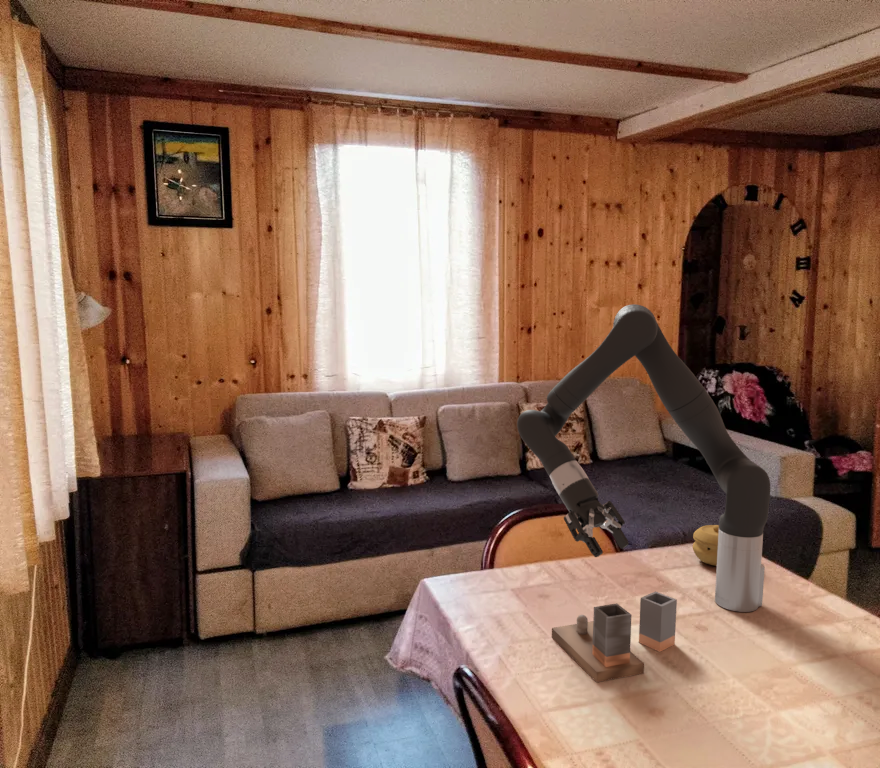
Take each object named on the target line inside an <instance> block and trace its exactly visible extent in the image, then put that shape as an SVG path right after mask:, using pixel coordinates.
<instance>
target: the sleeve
mask: <svg viewBox="0 0 880 768" xmlns="http://www.w3.org/2000/svg"><path fill="white" fill-rule="evenodd" d="M639 601H640V603H639V604H640V605H639V625H638V626H639V631H638V643H639V644H642V645H644V646H646V647H648V648H650V649H652V650H655V651H656V652H658V653H661V652H663V651H664V650H666V649H669V648H670V647H672V646H674V645H675V643H676V642H675V641H676V628H677V627H676V625H677V623H676V622H677V604H678V603H677V602H678V601H677V599H676V598H673V597H670V596H668V595H666V594H663V593H661V592H658V591H656V590H655V591H654V592H650V593H649V594H646V595H644V596H642V597H640V600H639Z"/></svg>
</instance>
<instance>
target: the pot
mask: <svg viewBox="0 0 880 768" xmlns="http://www.w3.org/2000/svg"><path fill="white" fill-rule="evenodd" d="M718 532H719V524H710V525H709V524H707V525H703V526H700V527H699V528H697V529H696V530H695V531H694V532H693V535H692V537H693V540H694V542H693V543H692V550H693V552H694V554H695V556H696V558H698V559H699V561H701V562H703V563H704V564H707V565H711V566H715V567H717V551H718Z"/></svg>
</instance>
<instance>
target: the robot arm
mask: <svg viewBox="0 0 880 768" xmlns="http://www.w3.org/2000/svg"><path fill="white" fill-rule="evenodd" d="M634 357H635V358H637V361H639V363H640V364H641V365H642V366H643V368H644V369H645V372H646V373H647V375H648V377H649V379H650V382H651V384H652V386H653V387H654V389H655V392H656V394H657V395H658V397H659V399H660V401H661V403H662V405H663V406H664V407H665V409H666V410H667V412H668V414H669V415H670V416H671V417H672V419H673V420H674V422H675V423H676V424H677V426H678V427H679V428H680V430H681V431H682V432H683V434H684V435H685V436H686V437H687V438H688V440H689V441H690V442H691V443H692V444H693V445H694V447H696V449H697V450H698V451H699V452H700V454H701V456H702V457H703V458H704V460H705V461H706V464H707V465H708V467H709V468H710V470H711V472H712V474H713V476H714V478H715V480H716V481H717V484H718V485H719V488H721V490H722V491H723V492H724V493H725V495H726V496H725V505H724V506H725V507H724V512H723V513H722V514H721V515H720V516H719V520H718V525H719V532H718V551H717V566H716V572H715V573H716V575H715V589H714V591H715V592H714V602H715V603H716V605H718V606H720V607H721V608H723V609H727V610H729V611H734V612H740V613H749V612H754V611H757V610H758V608H759V607H762V606H763V597H764V586H765V585H764V584H765V583H764V582H765V581H764V580H765V565H764V564H763V563H762V558H763V557H762V556H763V543H764V541H763V540H764V539H763V538H764V528H765V526H766V524H767V522H768V518H769V508H770V500H771V499H770V498H771V480H770V475H768V473H767V471H766V470H765V469H764V468H763V467H761V466H760V465H758V464H757V463H755V462H754V461H752V460H751V459H750V458H749V457H748V456H747V455H746V454H745V453H744V452H743V451H742V450H741V448H740V447H739V446H738V444H736V443H735V441H734V439H733V438H731V436H730V434H729V433H728V431H727V428H726V426H725V423H724V420H723V418H722V416H721V413H720V411H719V408H718V407H717V405H716V404H715V402H714V400H713V399H712V397H711V396H710V394H709V393H708V391H707V390H706V389H705V387H704V386H703V384H702V383H701V382H700V380H699V379H698V378H697V377H696V376H695V374H694V373H693V372H692V370H691V369H690V368H689V367H688V366H687V365H686V363H685V362H684V361H683V360H682V359H681V358H680V357H679V356H678V354H677V353H676V352H675V351H674V350H673V348H672V346H671V345H670V343H669V342H668V340H667V338H666V337H665V335H664V333H663V331H662V329H661V327H660V326H659V323H658V322H657V319H656V317H655V315H654V313H653V312H652V311H651V310H650V309H649V308H648V307H646V306H644V305H641V304H635V303H633V304H628V305H625V306H623V307H622V308H621V309H619V310H618V312H617V313H616V315H615V316H614V319H613V324H612V329H611V330H610V332H609V333H608V334H607V336H606V337H605V338H604V339H603V341H602V342H601V343H600V345H598V347H597V348H596V349H595V350H594V351H593V352H592V353H591V354H590V355H589V356H588V357H586V358H585V359H584V360H583V361H581V362H579V364H578V365H575V367H573V368H572V369H571V370H570V371H569V372H567V374H566V375H565V376H564V377H562V378H561V379H560V381H559V382H557V384H556V385H554V387H553V388H552V389H551V390H550V391H549V392H548V393H547V396H546V402H547V403H546V405H544V407H543V408H542V409H541V410H536V409H527V410H524V411H523V412H521V413H520V414H519V416H518V418H517V422H516V428H517V432H518V434H519V437H520V438H521V440H522V441H523V442H524V443H525V445H526V446H527V447H528V449H529V450H530V451H531V452H532V453H533V455H535V457H537V459H539V461H540V463H541V464H542V466H543V468H544V469H545V472H546V474H547V475H548V476H549V478H550V481H551V483H552V486H553V487H554V489H555V491H556V493H557V494H558V496H559V497H560V499H561V501H562V502H563V504H564V506H565V508H566V510H567V511H568V513H567V514H566V515H565V516H563V520H564V522H565V524H566V526H567V528H568V530H569V531H570V533H571V536H572V538H573V539H574V541H575V542H577V543H578V542H579V541H580V542H583V543H585V545H586V547H587V548H588V550H589V552H590V553H591V555H592V556H593V557H594V558H599V557H600V556H601V555H602V554H603V552H604V551H603V550H602V547H601V546H600V544H599V543H598V541H597V539H596V538H595V536H593V535H594V532H593V531H594V530H593V529H594V528H599V527H600V528H601V529H604V530H607V531H608V532H610V533H611V535H612V537H613V539H614V540H615V542H616V544H617V546H618V547H619V548H620V549H622V550H623V549H625V548H626V547H627V546H629V544H630V543H629V539H628V538H627V536H626V535H625V534H624V532H623V530H622V527H623V526H624V525H625V524H626V521H625V520H624V518H623V517H622V516H621V514H620V513H619V510H618V509H617V508H616V507H615V505H614V503H613V502H612V501H611V500H608V501H607V502H606V503H603V504H602V503H601V502H600V501H599V493H598V491H597V489H596V488H595V486H594V485H593V483H592V481H591V480H590V479H589V476H588V475H587V473H586V471H585V470H584V469H583V468H582V466H581V464H579V462H578V461H577V459H576V458H575V456H574V455H573V453H572V451H571V450H570V448H569V447H568V446H567V444H566V443H564V442H563V441H562V440H559V439H558V438H557V435H558V434H559V433H560V431H561V430H562V429H563V427H564V425H565V424H566V423H567V421H568V419H569V418H570V416H571V414H573V413H574V412H575V411H576V410H577V409H578V408H579V407H580V406H582V404H583V403H584V402H585V401H587V399H588V398H589V397H590V396H591V395H592V394H593V393H594V392H595V391H596V390H597V389H598V388H599V387H600V385H602V383H604V381H606V380H607V379H608V378H609V377H610V376H611V375H612V374H614V372H615V371H617V370H618V369H619V368H620V367H621V366H623V365H624V364H626V363H627V361H630V360H631V359H632V358H634ZM616 520H617V521H616Z"/></svg>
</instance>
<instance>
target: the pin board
mask: <svg viewBox="0 0 880 768" xmlns="http://www.w3.org/2000/svg"><path fill="white" fill-rule="evenodd" d="M592 618H593V620H592V621H589V620H588V617H587V616H586V615H584V614H579V615H578V616H577V618H576V623H574V624H567V625H562V626H561V625H560V626H556V627H552V628H551V638H552V639H553V640H554V641H555V642H556V643H557V644H558V645H559V646H560V647H561V649H563V650H564V651H565V652H566V654H567V655H569V656H570V657H571V658H572V660H573V661H575V662H576V663H577V664H578V665H579V667H581V668H582V669H583V670H584V671H585V672H586V673H587V674H588V675H589V677H591V679H593V681H595V682H596V683H600V682H605V681H611V680H615V679H621V678H627V677H630V676H637V675H642V674H645V662H643V660H641V659H640V658H639V657H638V656H637V655H635V653H633V652H632V651H631V643H632V642H631V640H632V637H631V636H632V614H631V613H630V612H629V611H628V610H627V609H625V608H623V606H621V605H620V604H618V603H612V604H603V605H597V606H594V607H593V617H592Z"/></svg>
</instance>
